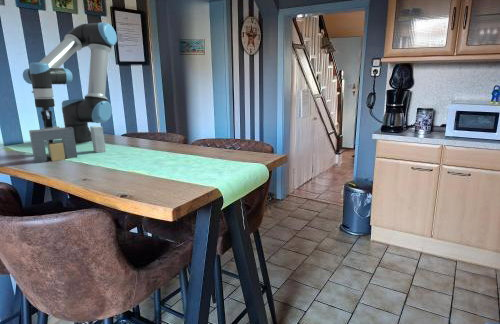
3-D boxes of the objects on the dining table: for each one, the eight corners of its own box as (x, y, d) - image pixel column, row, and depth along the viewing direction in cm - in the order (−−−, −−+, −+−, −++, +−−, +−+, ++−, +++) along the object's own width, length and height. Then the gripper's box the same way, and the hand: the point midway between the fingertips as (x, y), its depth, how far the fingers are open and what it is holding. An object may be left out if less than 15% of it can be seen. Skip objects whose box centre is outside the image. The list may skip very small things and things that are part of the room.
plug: (59, 153, 159) (57, 138, 157) (65, 159, 146) (63, 143, 145) (47, 154, 156) (45, 139, 154) (52, 161, 143) (49, 145, 142)
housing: (74, 154, 155) (70, 125, 151) (77, 157, 150) (73, 126, 147) (34, 160, 146) (28, 128, 142) (35, 162, 141) (30, 130, 137)
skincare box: (106, 151, 161) (103, 126, 158) (96, 153, 158) (93, 127, 155) (102, 149, 166) (99, 125, 163) (92, 150, 163) (89, 126, 160)
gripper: (33, 97, 154) (40, 148, 160) (35, 99, 144) (44, 152, 150) (51, 97, 159) (58, 146, 164) (55, 98, 149) (63, 150, 154)
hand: (51, 149), depth 157 cm, fingers closed
